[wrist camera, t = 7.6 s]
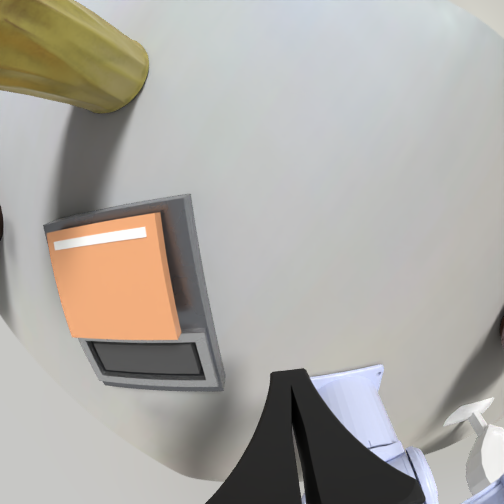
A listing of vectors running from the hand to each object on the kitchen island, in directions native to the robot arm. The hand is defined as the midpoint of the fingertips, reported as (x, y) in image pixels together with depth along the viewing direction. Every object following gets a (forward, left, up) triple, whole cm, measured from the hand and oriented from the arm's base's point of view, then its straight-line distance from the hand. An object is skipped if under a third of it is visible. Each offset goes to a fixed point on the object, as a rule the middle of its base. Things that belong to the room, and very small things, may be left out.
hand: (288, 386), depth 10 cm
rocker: (+2, +11, -7) cm, 13 cm away
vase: (+17, +10, -11) cm, 22 cm away
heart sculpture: (-30, -32, -11) cm, 45 cm away
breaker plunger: (-5, +11, -10) cm, 16 cm away
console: (-1, +11, -10) cm, 15 cm away
